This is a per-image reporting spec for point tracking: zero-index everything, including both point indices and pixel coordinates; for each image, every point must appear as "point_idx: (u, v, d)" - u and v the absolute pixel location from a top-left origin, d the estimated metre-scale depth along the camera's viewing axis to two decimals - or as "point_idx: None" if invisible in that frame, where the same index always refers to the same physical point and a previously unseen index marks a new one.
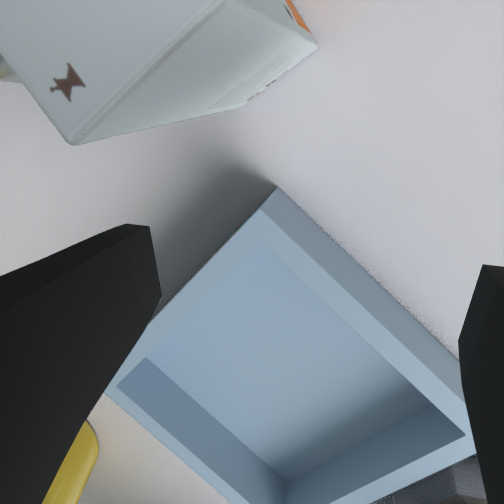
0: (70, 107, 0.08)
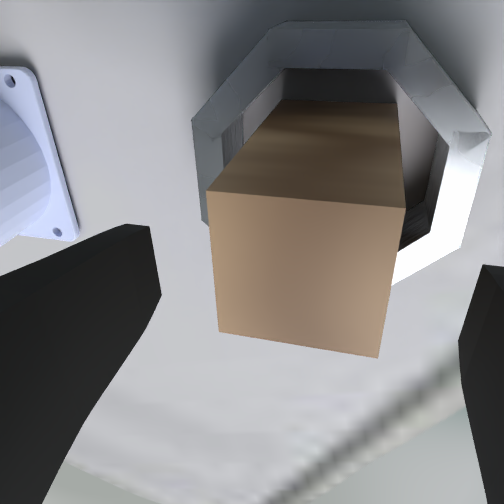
0: None
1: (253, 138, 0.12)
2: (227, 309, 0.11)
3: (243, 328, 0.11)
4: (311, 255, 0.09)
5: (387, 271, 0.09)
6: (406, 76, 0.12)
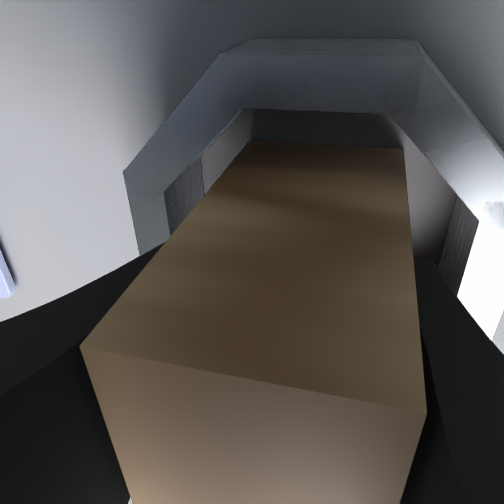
0: None
1: (194, 214, 0.08)
2: (143, 492, 0.07)
3: None
4: (263, 450, 0.05)
5: (391, 488, 0.05)
6: (417, 124, 0.08)
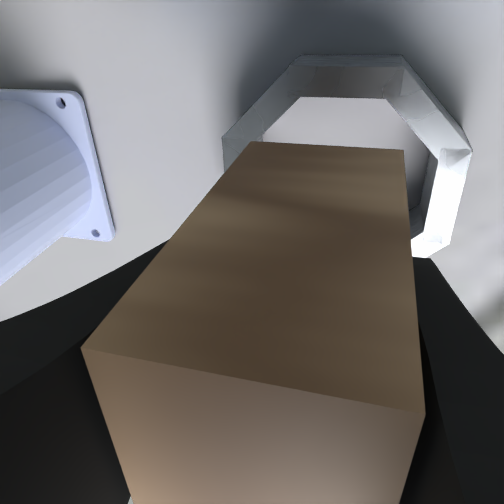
0: None
1: (194, 216, 0.08)
2: (144, 493, 0.07)
3: None
4: (263, 452, 0.05)
5: (391, 489, 0.05)
6: (401, 104, 0.14)
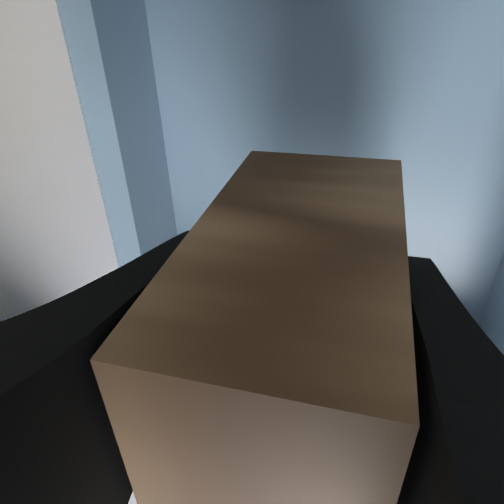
0: None
1: (197, 228, 0.08)
2: (149, 497, 0.07)
3: None
4: (264, 460, 0.06)
5: (387, 495, 0.05)
6: None
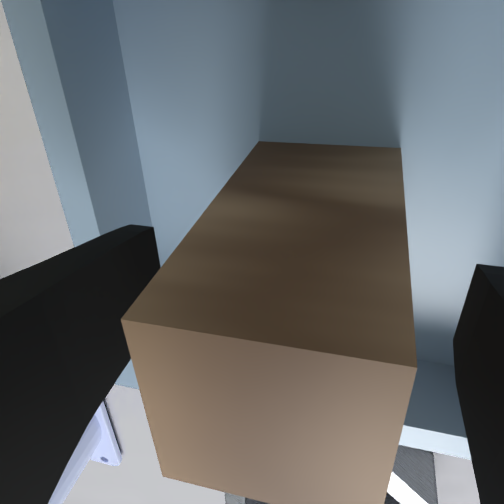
0: None
1: (211, 209, 0.09)
2: (170, 455, 0.08)
3: (193, 476, 0.08)
4: (278, 409, 0.06)
5: (389, 439, 0.06)
6: None
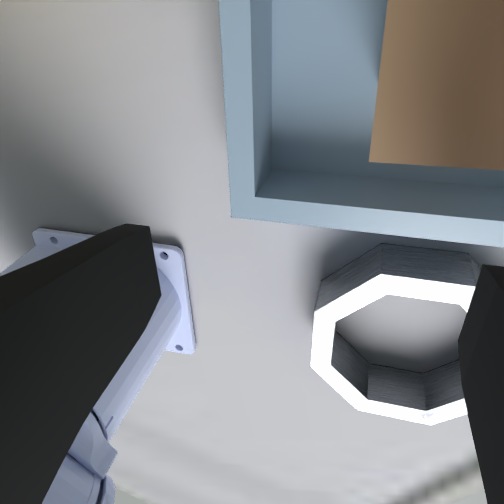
0: None
1: None
2: (387, 126, 0.09)
3: (402, 151, 0.09)
4: None
5: None
6: None
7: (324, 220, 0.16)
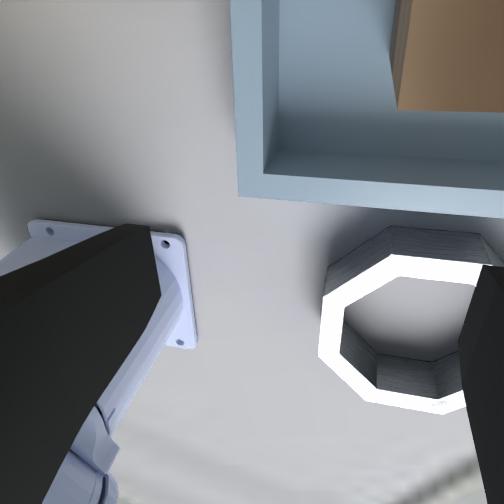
0: None
1: None
2: (418, 68, 0.08)
3: (434, 97, 0.09)
4: None
5: None
6: None
7: (335, 196, 0.16)
